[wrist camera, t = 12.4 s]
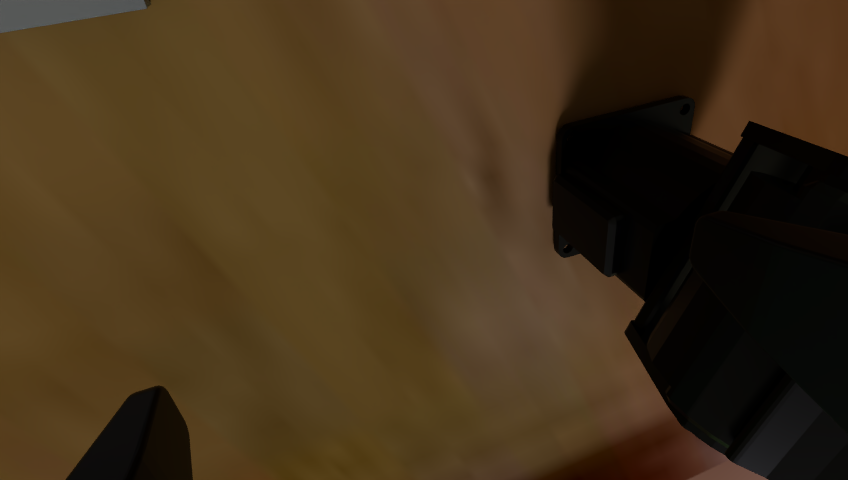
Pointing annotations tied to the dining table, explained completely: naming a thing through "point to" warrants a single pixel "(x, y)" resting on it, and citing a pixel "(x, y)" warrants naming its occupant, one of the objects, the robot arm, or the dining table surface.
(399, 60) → the dining table surface
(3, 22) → the slate board
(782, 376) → the robot arm
